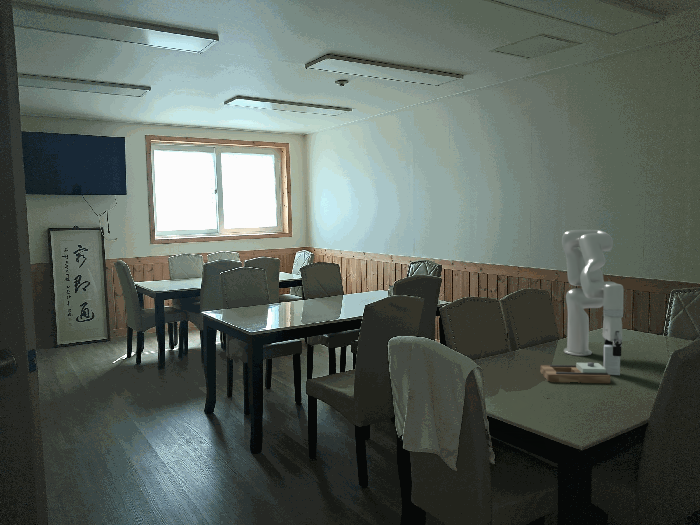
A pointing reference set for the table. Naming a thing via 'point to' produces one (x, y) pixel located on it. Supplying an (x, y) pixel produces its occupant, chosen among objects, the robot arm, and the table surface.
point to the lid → (590, 367)
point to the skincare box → (611, 361)
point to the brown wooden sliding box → (571, 374)
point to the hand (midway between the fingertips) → (612, 353)
